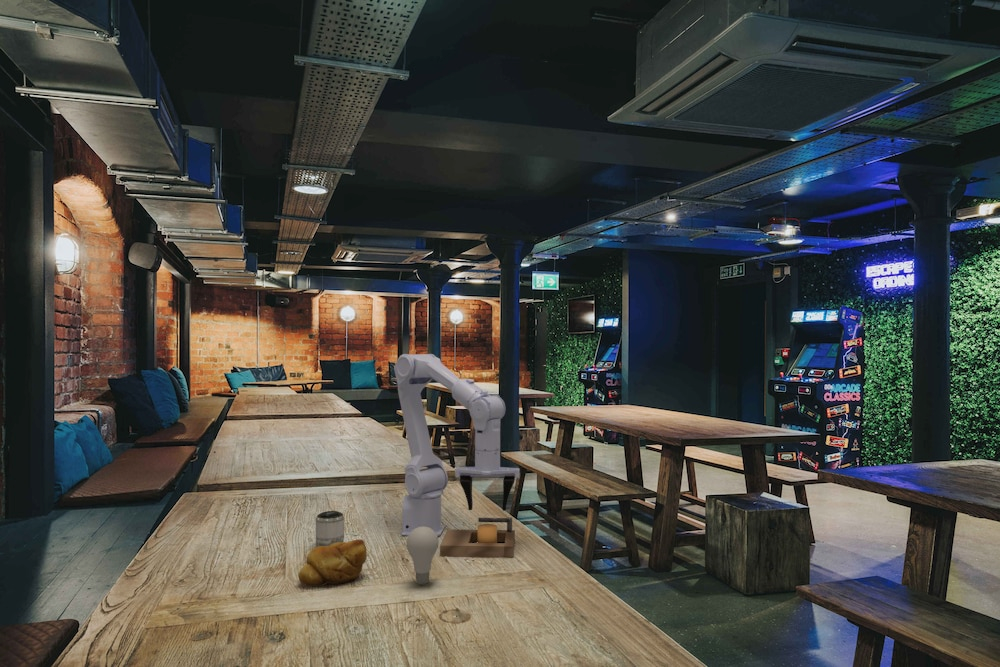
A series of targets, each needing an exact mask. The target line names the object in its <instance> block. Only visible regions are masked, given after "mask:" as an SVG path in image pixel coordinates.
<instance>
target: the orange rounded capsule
mask: <svg viewBox="0 0 1000 667" xmlns="http://www.w3.org/2000/svg"><path fill="white" fill-rule="evenodd" d="M477 530H478V543H497V530H498V525H496V524H493V523H492V524H491V523H483V524H479V525H477Z"/></svg>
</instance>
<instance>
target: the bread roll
mask: <svg viewBox="0 0 1000 667" xmlns="http://www.w3.org/2000/svg"><path fill="white" fill-rule="evenodd" d="M367 557H368V556H367V546H366V544H365V541H364V540H363V539H354V540H350V541H347V542H345V541H344V542H339V543H333V544H331V545H330V546H318V547H317V546H315V547H313V548H311V550H310V551H309V552H308V554H307V556H306V564H305V565H303V566H302V567H301V568H300V570H299V572H298V576H297V577H298V580H299V582H300V583H301V584H302V585H304V586H309V587H310V586H311V587H319V586H323V585H326V584H344V583H347V582H350V581H354V580H355V579H358V577H359V576H360V574H361V573H362V570H363V565H364V564H365V562H366V560H367Z"/></svg>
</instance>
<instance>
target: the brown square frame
mask: <svg viewBox="0 0 1000 667" xmlns="http://www.w3.org/2000/svg"><path fill="white" fill-rule="evenodd" d="M515 540H516V530H515V529H512V532H507V529H497V542H505V543H472V542H478V529H460V528H459V529H448V528H447V530H446V531H445V534H444V536H443V538H442V540H441V542H440V545H439V557H440V556H447V557H449V558H450V557H451V558H498V557H503V559H504V558H505V559H507V558H509V559H512V558H513V559H514V558H515V557H514V555H515V545H514V544H515V543H516V541H515ZM447 557H446V558H447Z"/></svg>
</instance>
